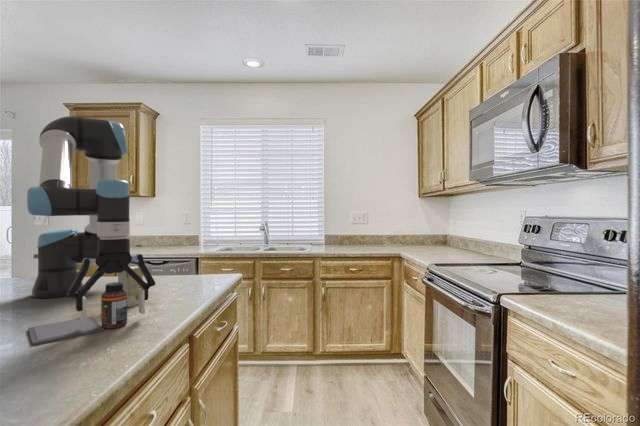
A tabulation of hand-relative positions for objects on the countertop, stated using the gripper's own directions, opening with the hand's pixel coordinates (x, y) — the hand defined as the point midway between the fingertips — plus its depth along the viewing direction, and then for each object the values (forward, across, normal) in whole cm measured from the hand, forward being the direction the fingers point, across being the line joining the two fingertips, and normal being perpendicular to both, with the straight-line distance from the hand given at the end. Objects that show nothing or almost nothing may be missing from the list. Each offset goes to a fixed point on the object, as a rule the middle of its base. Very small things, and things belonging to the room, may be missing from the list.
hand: (114, 317), depth 93 cm
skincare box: (+2, +9, +19) cm, 21 cm away
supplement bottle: (+2, 0, 0) cm, 2 cm away
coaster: (+2, -10, +4) cm, 11 cm away
